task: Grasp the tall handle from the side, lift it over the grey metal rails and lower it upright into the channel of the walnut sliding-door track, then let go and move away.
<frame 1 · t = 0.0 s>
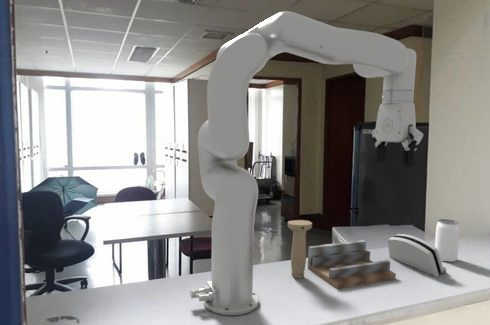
hand: (393, 163, 102), 31 cm above the counter, tool pointing down, fingers open, 9 cm apart
grey curved slotted block: (413, 266, 115), on the counter
can: (445, 259, 121), on the counter
handle: (297, 277, 105), on the counter
track: (350, 273, 107), on the counter
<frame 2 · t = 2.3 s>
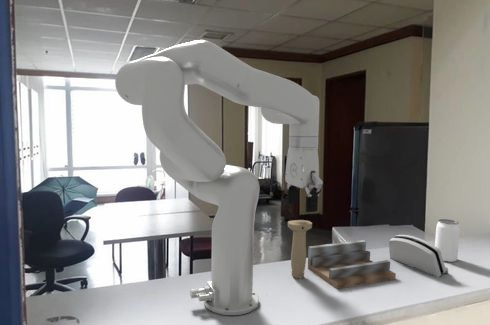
hand: (301, 207, 103), 19 cm above the counter, tool pointing down, fingers open, 9 cm apart
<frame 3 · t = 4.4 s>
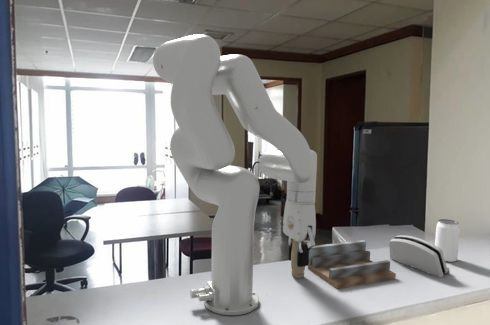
hand: (298, 262, 104), 4 cm above the counter, tool pointing down, fingers closed on handle, 3 cm apart
handle: (297, 277, 105), on the counter, touching gripper
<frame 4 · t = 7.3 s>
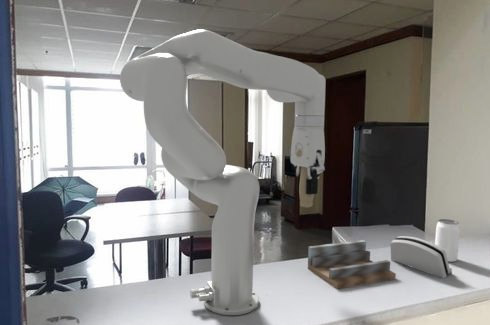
hand: (306, 191, 102), 23 cm above the counter, tool pointing down, fingers closed on handle, 3 cm apart
handle: (306, 207, 103), point 19 cm above the counter, touching gripper
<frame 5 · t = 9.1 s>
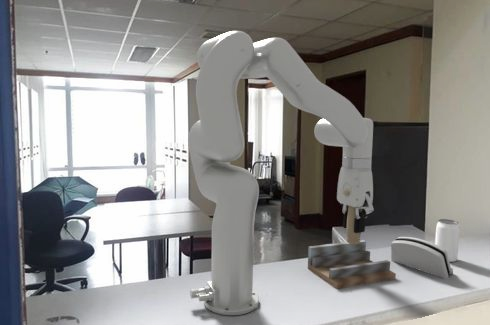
hand: (353, 229, 106), 13 cm above the counter, tool pointing down, fingers closed on handle, 3 cm apart
handle: (353, 243, 107), point 8 cm above the counter, touching gripper
when the fingers open (7 cm above the counter, at t = 10.3 s): handle drops 1 cm, resting on track.
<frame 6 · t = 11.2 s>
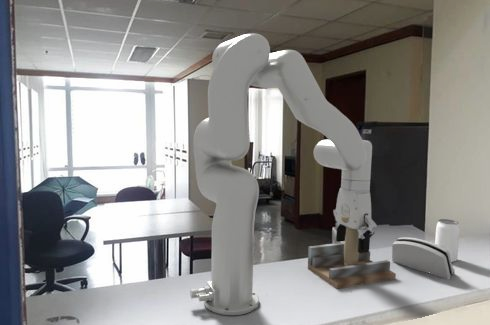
hand: (351, 246, 106), 8 cm above the counter, tool pointing down, fingers open, 9 cm apart
handle: (350, 269, 107), point 1 cm above the counter, touching track
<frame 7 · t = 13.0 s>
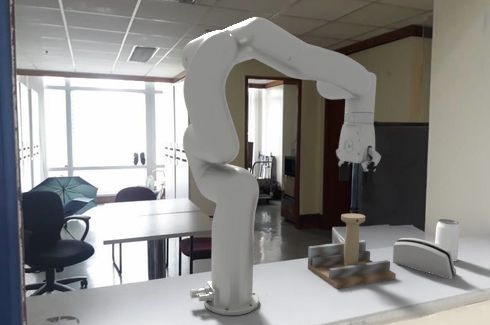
hand: (354, 183, 104), 25 cm above the counter, tool pointing down, fingers open, 9 cm apart
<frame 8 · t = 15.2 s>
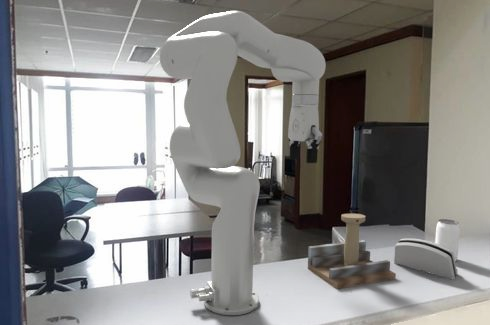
hand: (302, 160, 112), 30 cm above the counter, tool pointing down, fingers open, 9 cm apart
at the end: handle inside the target area on the track (0.2 cm from its centre), point 1.3 cm above the track's base; handle tilted 0°; the gripper is holding nothing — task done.
